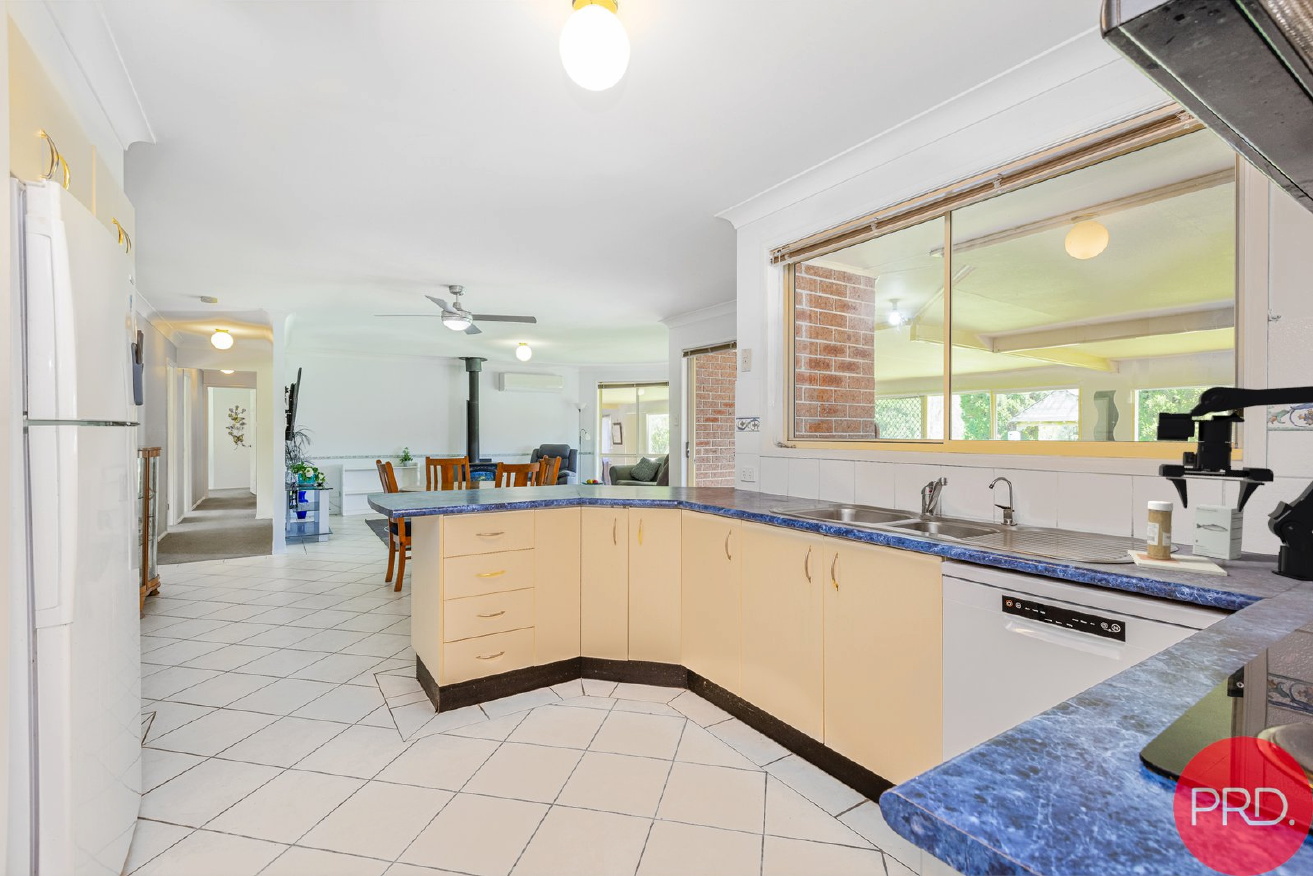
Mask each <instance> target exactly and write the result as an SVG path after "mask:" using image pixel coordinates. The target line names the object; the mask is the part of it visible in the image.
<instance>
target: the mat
mask: <svg viewBox="0 0 1313 876" xmlns="http://www.w3.org/2000/svg"><path fill="white" fill-rule="evenodd" d="M1127 554H1128V555H1129V554H1130V555H1131V556H1132V558H1133V559H1132V558H1131V559H1132V561H1133V560H1134V561H1133V562H1134V563H1135V564H1136V565H1137V567H1140V568H1148V569H1157V570H1167V571H1174V572H1175V571H1176V572H1185V573H1195V574H1204V575H1213V576H1220V577H1228V572H1227V571H1226V570H1225V569H1223V568H1222V567H1221V566H1219V565H1217V564H1216V563H1215V562H1213V561H1212V560H1211V559H1209V557H1206V556H1193V555H1184V554H1183V555H1181V554H1172V553H1171V559H1170V560H1158V559H1152V558H1149V557H1147V551H1143V550H1134V549H1127ZM1130 555H1129V556H1130Z"/></svg>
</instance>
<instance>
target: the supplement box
mask: <svg viewBox="0 0 1313 876" xmlns="http://www.w3.org/2000/svg"><path fill="white" fill-rule="evenodd" d="M1244 512H1245V507H1244V508H1243V509H1242V511H1241V512H1237V506H1231V505H1230V506H1229V505H1221V504H1220V505H1219V504H1211V503H1210V504H1209V503H1201V504H1195V505H1194V520H1193V521H1194V522H1193V539H1192V555H1197V556H1202V557H1208V558H1209V557H1211V558H1214V559H1215V558H1217V559H1222V560H1226V561H1231V560H1236V559H1240V558H1241V557H1242V547H1243V546H1242V544H1243V543H1242V542H1243V527H1244V526H1243V525H1244V524H1243V523H1244Z"/></svg>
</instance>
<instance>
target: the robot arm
mask: <svg viewBox="0 0 1313 876" xmlns="http://www.w3.org/2000/svg"><path fill="white" fill-rule="evenodd" d="M1197 403H1198V404H1196V405H1195V406H1194V407H1193V409H1192V408H1191V409H1190V410H1189V412H1186V413H1184V412H1183V413H1181V412H1180V413H1179V412H1178V413H1176V412H1175V413H1173V412H1165V411H1163V412H1162V411H1161V412H1159V413H1158V421H1157V426H1156V442H1157V441H1158V442H1159V441H1160V442H1188V440H1189V438H1195V435H1196V434H1195V433H1196V423H1198V426H1197V433H1198V434H1197V448H1196V453H1195V452H1194V451H1183V453H1182V464H1172V463H1171V464H1170V463H1161V464H1160V465H1159V466H1158V476H1160V477H1164V478H1165V480H1167V481H1170V482H1172V483H1173V485H1174V486H1175V487H1174V488H1176V491H1177V493H1178V496H1179V498H1180V501H1181V503H1182V507H1183V509H1188V502H1189V501H1188V490H1187V489H1188V488H1187V479H1186V478H1184V476H1193V477H1194V476H1197V477H1198V476H1199V477H1222V478H1241V479H1243V480H1239V492H1238V498H1237V506H1236V507H1237V512H1241V511H1242V509H1243V508H1244V509H1245V506H1246V504H1247V503H1248V502H1249V499H1250V497H1252V495H1253V494H1254V492H1256V490H1257V489H1258V487H1259V486H1265V485H1266V483H1265V482H1267V483H1268V482H1271V483H1273V482H1274V477H1275V476H1274V474H1275V473H1274V471H1273V470H1272V469H1270V468H1267V467H1266V468H1265V467H1250V466H1249V467H1245V466H1243V467H1242V469H1232V452H1233V447H1232V446H1233V445H1232V442H1233V423H1244V422H1246V420H1245V419H1244V418H1243V417H1241V416H1240V415H1239V414H1238V413H1237V411H1234V410H1239V409H1241V410H1242V409H1247V408H1250V407H1261V406H1263V407H1264V406H1265V407H1266V406H1280V405H1281V406H1282V405H1284V406H1285V405H1302V404H1303V405H1304V404H1313V385H1311V386H1310V385H1309V386H1295V387H1275V388H1263V389H1262V388H1260V389H1257V388H1255V389H1253V388H1251V389H1250V388H1242V387H1228V386H1226V387H1225V386H1213V387H1210V388H1208V389H1206V390H1205V391H1203V392H1202V393H1201V394H1200V395H1199V397H1198V402H1197ZM1229 411H1233V412H1231V413H1230V414H1229V415H1227V414H1224V415H1222V414H1220V415H1219V414H1217V413H1224V412H1229ZM1210 413H1211V414H1214V415H1211V416H1210V417H1211V418H1210V419H1193V418H1200V417H1203V416H1206V415H1208V414H1210ZM1221 470H1222V471H1221ZM1267 517H1269V520H1268V521H1267V526H1268V527H1267V528H1268V530H1269V531H1270V532H1271V533H1272V534H1273V535H1274V536H1276V537H1278V538H1279V540H1280V542H1281V543H1282V545H1279V551H1278V557H1277V558H1278V560H1277V570H1275V569H1272V570H1270V571H1271V573H1272V574H1275V575H1276V574H1277V575H1280V576H1283V577H1288V578H1292V579H1295V580H1302V581H1313V480H1311V482H1310V483H1309V485H1307V486H1306V487H1305V489H1304V490H1303V491H1302V492H1301V493H1300V495H1299V496H1298V497H1297V498H1296V499H1294V500H1292V501H1291V502H1289V503H1287V502H1285V501H1283V500H1280V501H1279V502H1278V503H1277V505H1276V507H1275V509H1274V510H1273V511H1272V512H1271V513H1268V514H1267Z"/></svg>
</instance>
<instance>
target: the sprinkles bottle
mask: <svg viewBox="0 0 1313 876" xmlns="http://www.w3.org/2000/svg"><path fill="white" fill-rule="evenodd" d="M1147 509H1148V510H1147V512H1148V514H1147V515H1148V517H1147V519H1148V521H1147V535H1146V537H1147V539H1146V540H1147V543H1146V544H1147V547H1146V548H1147V551H1146V552H1147V557H1149V558H1152V559H1158V560H1170V559H1171V554H1172V553H1171V550H1172V549H1171V547H1172V530H1173V529H1172V515H1173V514H1172V513H1173V511H1174V503H1173V502H1171V501H1165V500H1164V501H1161V500H1149V501H1148V502H1147Z"/></svg>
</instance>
